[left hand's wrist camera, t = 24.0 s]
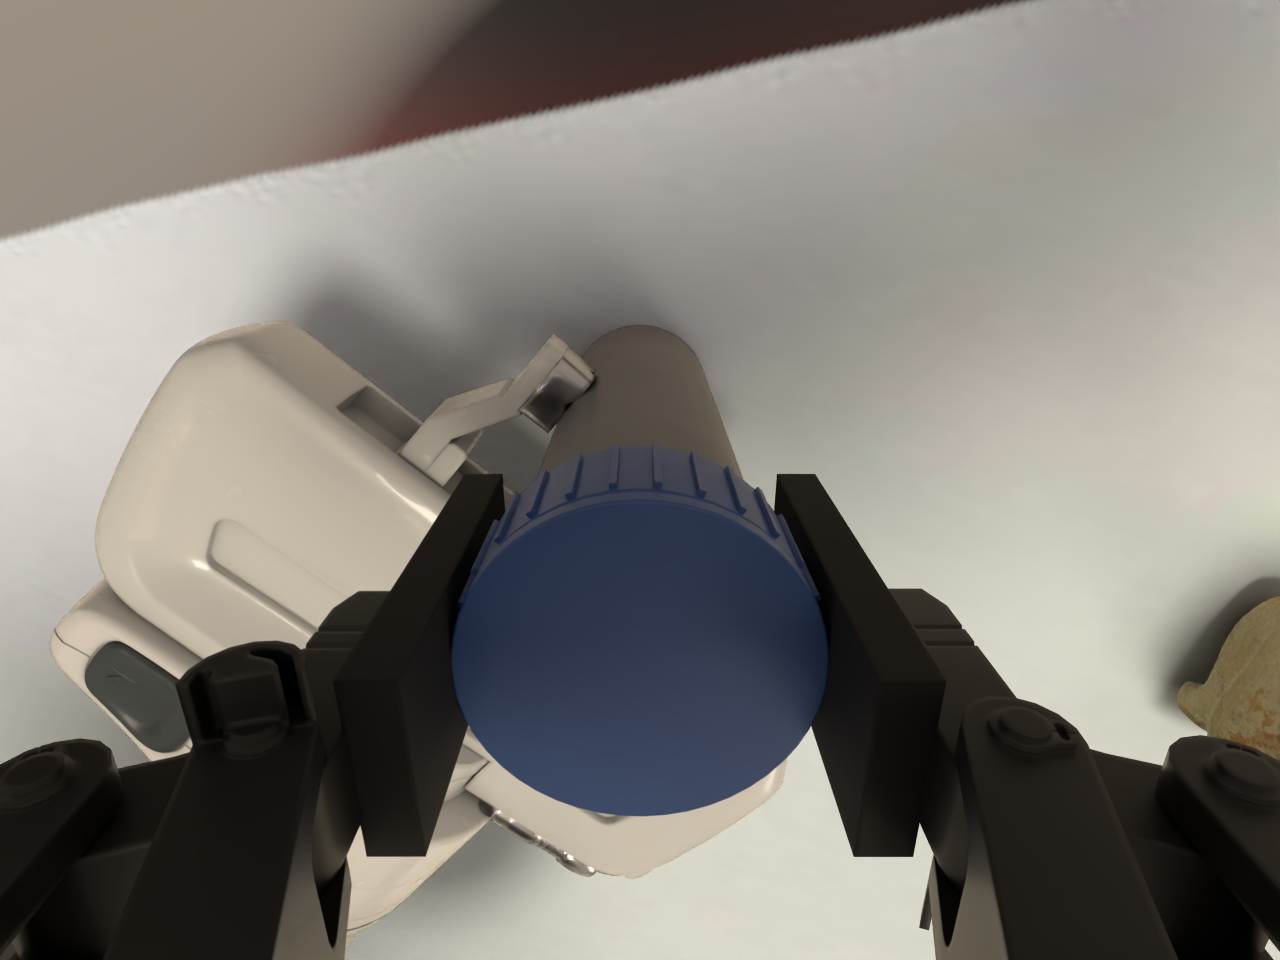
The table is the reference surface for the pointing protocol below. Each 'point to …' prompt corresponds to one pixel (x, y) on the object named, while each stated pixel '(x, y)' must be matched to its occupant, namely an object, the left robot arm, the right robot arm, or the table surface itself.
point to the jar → (642, 401)
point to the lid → (639, 635)
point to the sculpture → (1242, 684)
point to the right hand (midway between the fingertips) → (661, 429)
